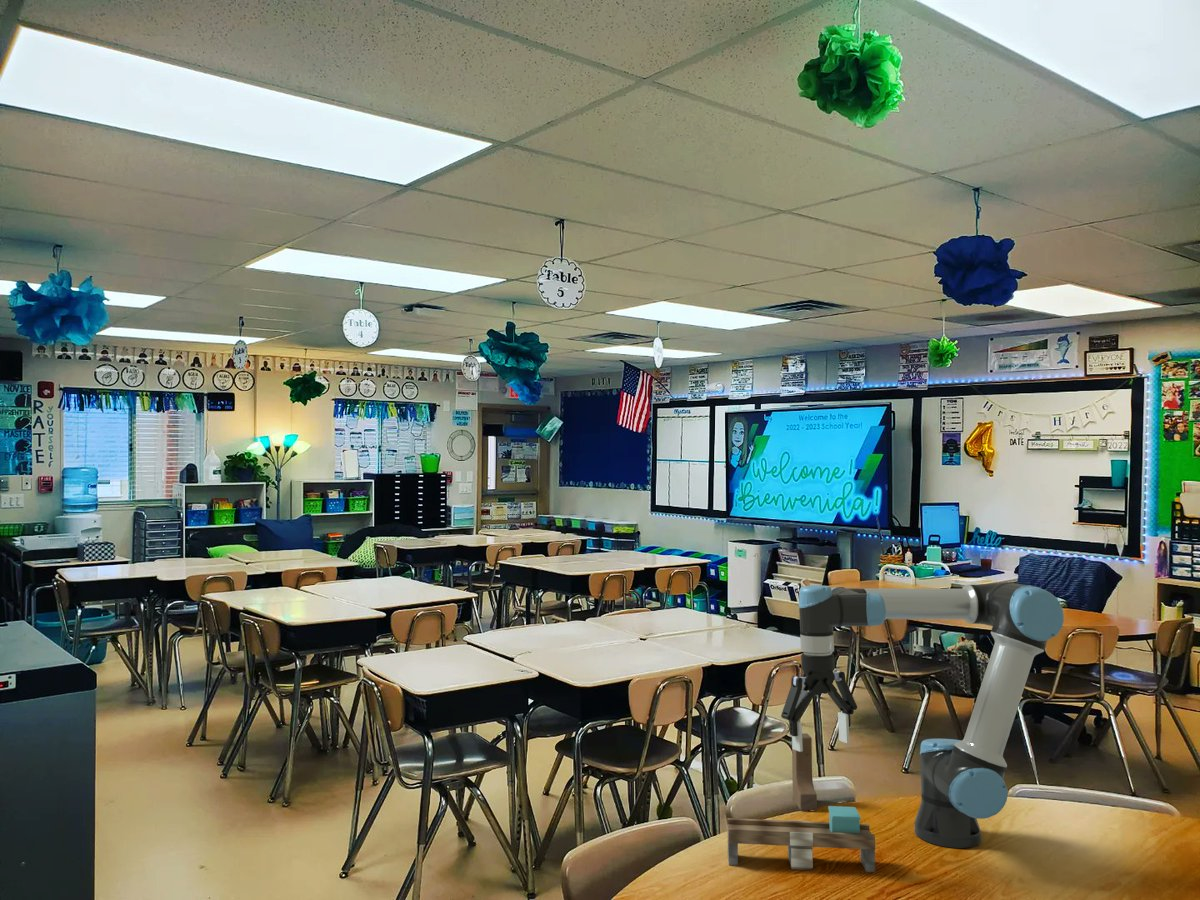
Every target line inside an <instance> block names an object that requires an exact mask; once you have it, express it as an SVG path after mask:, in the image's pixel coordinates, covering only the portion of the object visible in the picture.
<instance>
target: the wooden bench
mask: <svg viewBox="0 0 1200 900" xmlns="http://www.w3.org/2000/svg"><path fill="white" fill-rule="evenodd" d="M726 823H727V859H728V865H729V866H736V867H737V866H739V856H738V855H739V850H738V849H739V844H740V845H741V844H743V845H760V846H761V845H764V846H785V847H787V856H788V857H787V858H788V861H789V864H790V869H791V870H804V871H805V870H806V871H812V869H814V867H813V865H814V863H813V861H814V860H813V859H814V858H813V857H814V855H813V848H827V849H829V848H830V849H831V848H833V849H848V850H849V849H850V850H851V849H853V850H860V851H859V852H860V862H861V864H862V867H863V869H864V871H865V872H867V873H868V872H869V873H876V835H875V833H872V832H871V830H870V824H869V823H860V833H839V832H831V831H830V829H829V822H827V821H809V820H794V819H793V820H789V819H787V820H784V819H783V820H782V819H760V818H759V819H756V818H739V817H737V818H736V817H735V818H734V817H732V818H731V817H727V822H726Z"/></svg>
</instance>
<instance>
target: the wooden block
mask: <svg viewBox="0 0 1200 900" xmlns="http://www.w3.org/2000/svg"><path fill="white" fill-rule="evenodd" d="M812 740H813V738H812V737H811V735H809V734H808V733H807V732H806V733H805V732H804V733H803V732H802V746H803V751H802V752H799V751H797V750H794V749H793V748H792V747H791V752H792V753H791V755H792V756H791V759H792V761H791V764H792V765H791V766H792V767H791V768H792V769H791V771H792V778H791V779H792V800H793V802H794V803H795V805H796V806H797V807H798V809H799V810H800V812H809V811H808V810H815V811H814V812H817V811H818V805H817V804H818V800H817V799H818V798H817V797H818V795H817V793H816V790H815V787H814V782H813V781H814V780H813V749H812V748H813V746H812V743H813V741H812Z"/></svg>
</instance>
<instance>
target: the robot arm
mask: <svg viewBox="0 0 1200 900" xmlns="http://www.w3.org/2000/svg"><path fill="white" fill-rule="evenodd" d="M798 610H799V627H800V628H799V630H800V631H799V633H800V651H801V652H802V653H801V654H800V660H801V662H800V663H801V669H802V672H803V674H802V676H796V675H792V676H791V679H790V680H791V681H790V682H791V683H790V689H789V691H788V694H787V697H786V701H785V703H784V706H783V709H782V712H781V716H780V717H781V718H782V719H784V720H787V721H788V723H789V724H788V725H789V727H788V728H789V729H788V730H789V735H790V736H791V749H792V748H793V749H794V750H797V751H799V752H802V751H803V746H802V733H803V728H802V725H803V722H802V721H800V718H801V717H802V716H803V713H804V712H805V710H806V708H807V707H808V705H809V703H810V701H811V700H812V699H813V698H814V697H815V695H816V696H818V695H821V694H825V695H826V694H827V695H829V697H830V699H831V700H832V701H833V703H834V704H835V705H836V706H837V708H838V709H839V710H840V712H837V721H838V722H837V723H838V741H839V742H842V743H845V744H849V743H850V727H851V725H852V722H851V715H854V712H855V711H856V710H857V709H858V704H857V703H856V701H855V698H854V696H853V694H852V692H851V690H850V688H849V685H848V683H847V680H846V673H845V672H844V671H842V670H837V669H836V667H835V655H834V652H835V639H834V628H835V627H838V628H840V627H869V628H870V627H874V626H875V627H876V626H881V625H883V624H884V623H885V620H964V621H965V622H966V623H967V624H969V625H972V624H973V625H974V624H977V625H986V626H990V627H991V630H990V634H991V637H992V638H993V640H994V644H993V647H992V651H991V654H990V656H989V657H990V658H989V660H988V663H987V666H986V669H985V671H984V675H983V678H982V681H981V684H980V688H979V691H978V694H977V697H976V699H975V700H976V701H975V703H974V706H973V710H972V713H971V715H970V718H969V721H968V725H967V728H966V730H965V731H966V732H965V733H964V737H963V739H961V740H960V739H955V738H954V739H953V738H928V739H927V738H926V739H923V740H922V741H921V743H920V752H919V756H920V758H919V759H920V763H919V764H920V792H921V800H920V804H919V807H918V811H917V814H916V817H915V819H914V834H915V836H916V837H918V838H919V839H921V840H923V841H925V842H927V843H930V844H932V845H937V846H940V847H945V848H946V847H947V848H953V849H954V848H956V849H966V848H973V847H977V846H979V845H980V844H981V843H982V831H981V830H982V829H981V828H980V825H979V822H978V821H979V820H982V819H989V818H991V817H993V816H996V815H997V814H999V813H1000V812H1001V811H1002V810H1003V809H1004V807H1005V805H1006V803H1007V801H1008V795H1009V794H1008V793H1009V792H1008V787H1007V785H1006V782H1005V780H1004V778H1005V773H1006V771H1007V768H1008V764H1007V762H1006V760H1005V758H1004V753H1005V749H1006V745H1007V742H1008V739H1009V737H1010V733H1011V730H1012V728H1013V727H1012V726H1013V724H1014V721H1015V718H1016V715H1017V712H1018V708H1019V706H1020V702H1021V699H1022V695H1023V692H1024V689H1025V686H1026V683H1027V680H1028V677H1029V674H1030V672H1031V671H1030V670H1031V668H1032V665H1033V661H1034V658H1035V657H1036V656H1037V655H1039V654H1042V653H1044V652H1045V649H1046V646H1047V643H1048V640H1051V639H1052V638H1054V637H1056V636H1057V635H1058V634H1059V633H1060V632H1061V630H1062V628H1063V625H1064V621H1065V614H1064V610H1063V607H1062V605H1061V603H1060V601H1059V599H1058V598H1057V597H1056V596H1055V595H1054V594H1053V593H1051V592H1049V591H1048V590H1046V589H1043V588H1041V587H1038V586H1036V585H1035V586H1034V585H1030V584H1029V585H1028V584H1021V583H1016V582H1010V581H1009V582H1008V581H1003V582H994V583H993V582H992V583H981V584H980V583H979V584H965V585H964V586H963V587H962V588H879V587H878V588H876V587H875V588H871V587H870V588H869V587H868V588H865V587H864V588H854V587H853V588H848V587H847V588H846V587H844V586H836V587H830V586H829V585H814V584H813V585H812V584H811V585H805V586H801V587H800V588H799V590H798ZM835 669H836V670H835ZM834 683H835V685H836V686H835V685H834ZM838 691H839V692H838ZM978 819H979V820H978Z"/></svg>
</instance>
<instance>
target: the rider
mask: <svg viewBox="0 0 1200 900" xmlns="http://www.w3.org/2000/svg"><path fill="white" fill-rule="evenodd" d="M827 808H828V815H829V818H828V819H829V820H828V821H829V829H830V831H831V832H839V833H860V824H861V822H860V821H861V820H862V819H861V818H862V817H861V815H860V814H859V812H858V810H857V808H856V807H855V806H834V805H828V806H827Z"/></svg>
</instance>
